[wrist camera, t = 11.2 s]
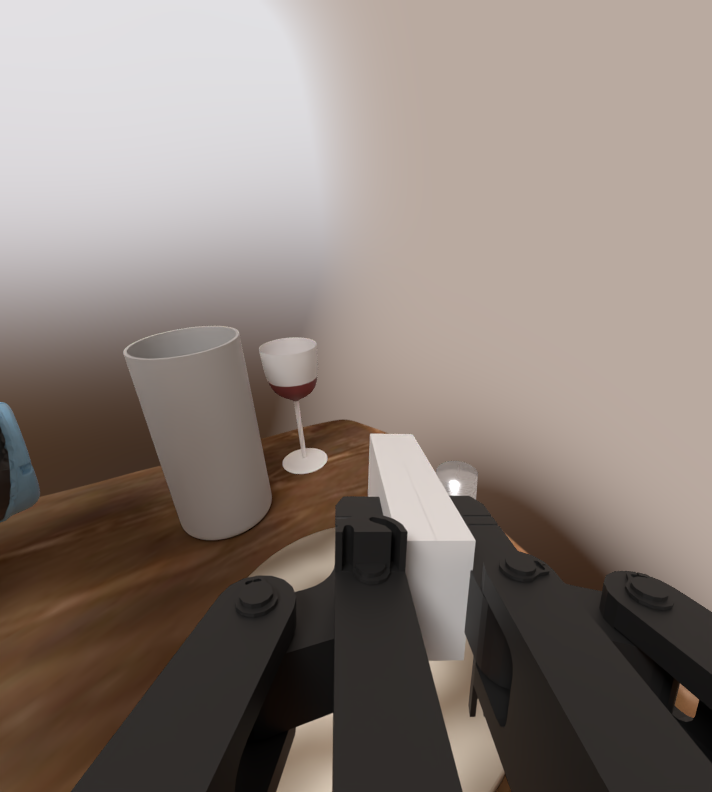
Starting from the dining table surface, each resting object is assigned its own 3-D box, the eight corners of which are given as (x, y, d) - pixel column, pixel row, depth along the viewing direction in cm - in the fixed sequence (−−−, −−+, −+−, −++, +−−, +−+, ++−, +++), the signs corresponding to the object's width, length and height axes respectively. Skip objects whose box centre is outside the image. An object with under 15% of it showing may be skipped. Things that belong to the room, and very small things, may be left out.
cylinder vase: (287, 488, 60) (258, 326, 49) (243, 551, 49) (194, 361, 39) (216, 478, 64) (175, 325, 53) (161, 534, 53) (96, 357, 42)
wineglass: (308, 481, 61) (290, 358, 53) (269, 464, 66) (246, 350, 58) (340, 455, 67) (328, 341, 58) (302, 442, 72) (285, 335, 63)
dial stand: (183, 607, 43) (177, 592, 42) (397, 506, 55) (396, 493, 54) (266, 1023, 20) (259, 1012, 19) (597, 699, 32) (603, 682, 31)
